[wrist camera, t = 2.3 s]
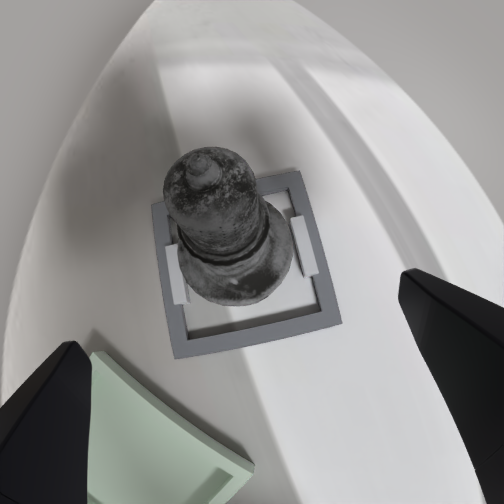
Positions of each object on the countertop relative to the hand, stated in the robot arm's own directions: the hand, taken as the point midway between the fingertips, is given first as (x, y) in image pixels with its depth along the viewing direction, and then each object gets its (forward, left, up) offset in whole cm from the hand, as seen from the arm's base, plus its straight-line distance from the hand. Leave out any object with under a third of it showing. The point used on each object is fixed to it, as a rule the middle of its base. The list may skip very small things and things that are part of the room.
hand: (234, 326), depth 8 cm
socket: (+3, -3, -11) cm, 11 cm away
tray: (+1, +13, -11) cm, 17 cm away
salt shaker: (+3, -3, -11) cm, 12 cm away
